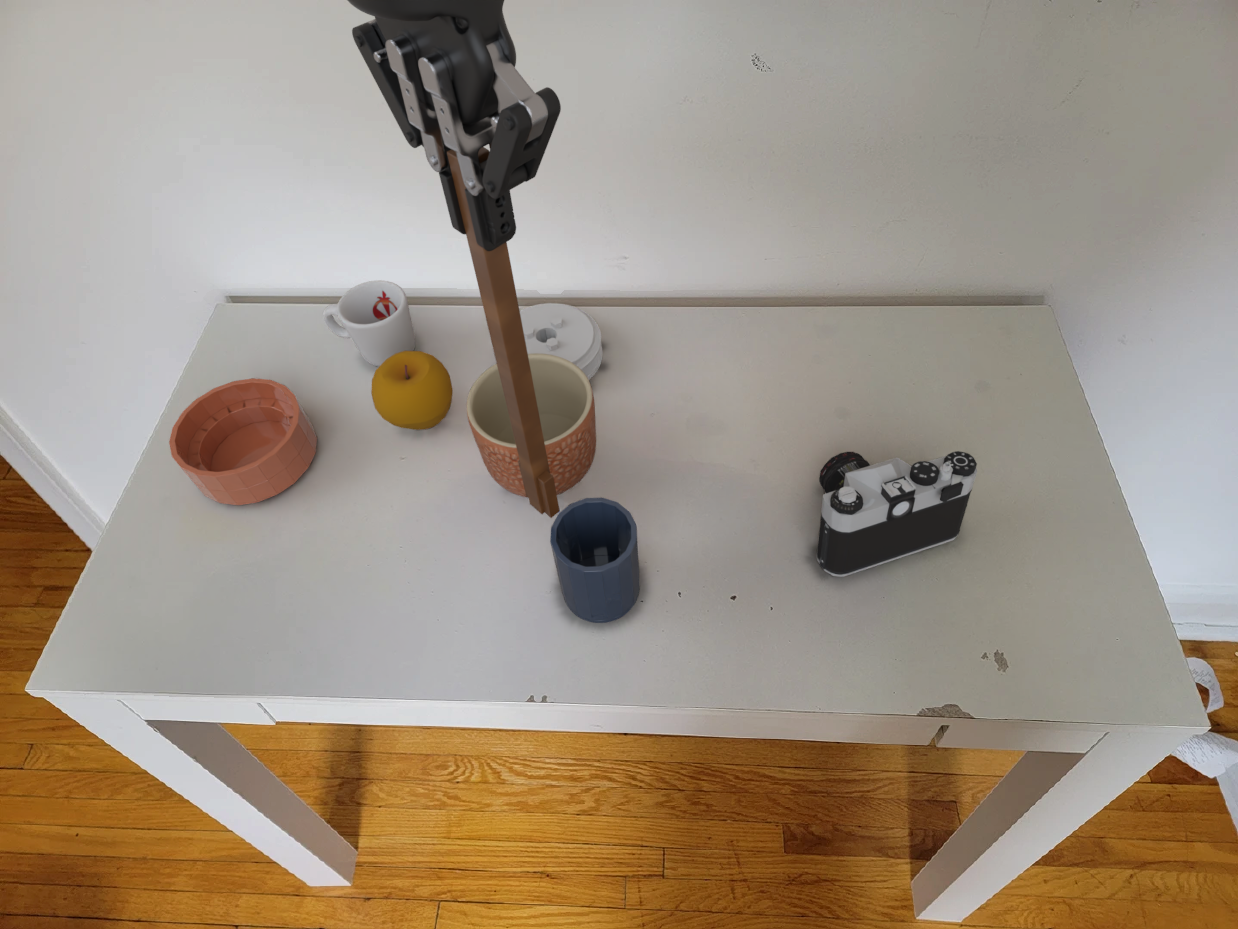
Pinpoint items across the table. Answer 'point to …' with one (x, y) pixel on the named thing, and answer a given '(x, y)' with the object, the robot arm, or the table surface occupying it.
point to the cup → (374, 320)
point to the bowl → (244, 441)
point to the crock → (596, 559)
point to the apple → (412, 390)
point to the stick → (510, 354)
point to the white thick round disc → (563, 334)
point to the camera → (889, 508)
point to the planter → (561, 417)
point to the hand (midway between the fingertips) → (485, 233)
